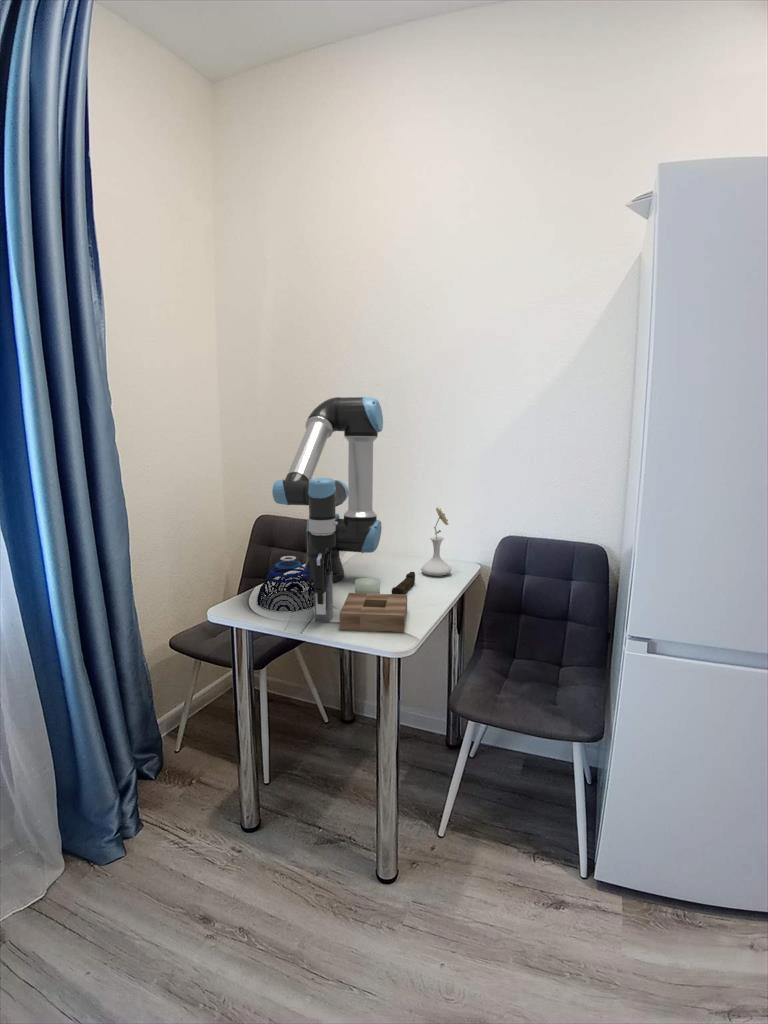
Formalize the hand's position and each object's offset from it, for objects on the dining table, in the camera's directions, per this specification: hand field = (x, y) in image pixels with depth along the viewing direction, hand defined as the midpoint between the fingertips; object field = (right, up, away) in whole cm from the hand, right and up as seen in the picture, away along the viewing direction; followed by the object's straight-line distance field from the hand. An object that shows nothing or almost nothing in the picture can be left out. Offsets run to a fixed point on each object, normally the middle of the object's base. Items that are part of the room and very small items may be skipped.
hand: (323, 609), depth 167 cm
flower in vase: (+37, +5, +48) cm, 61 cm away
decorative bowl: (-13, 0, +17) cm, 21 cm away
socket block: (+15, -3, 0) cm, 15 cm away
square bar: (0, -3, +1) cm, 3 cm away
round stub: (+12, 0, +15) cm, 20 cm away
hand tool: (+25, +1, +28) cm, 38 cm away
